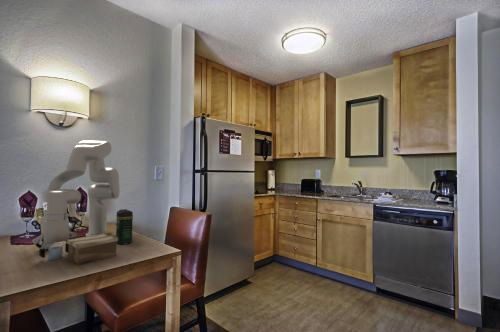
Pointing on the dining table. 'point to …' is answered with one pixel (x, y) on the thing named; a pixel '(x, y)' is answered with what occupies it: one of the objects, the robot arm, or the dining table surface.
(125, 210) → the coffee jar
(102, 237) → the lid
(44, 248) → the plastic bottle
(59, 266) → the dining table surface
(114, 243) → the box
